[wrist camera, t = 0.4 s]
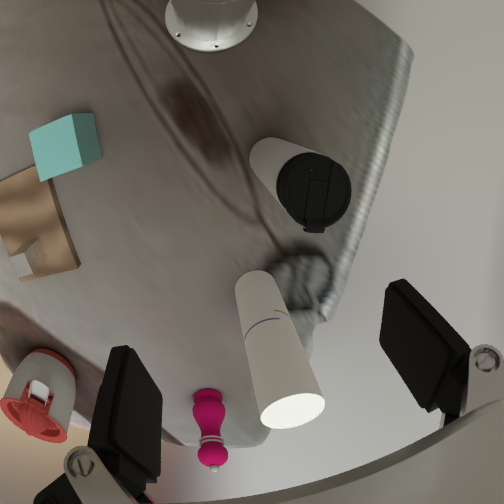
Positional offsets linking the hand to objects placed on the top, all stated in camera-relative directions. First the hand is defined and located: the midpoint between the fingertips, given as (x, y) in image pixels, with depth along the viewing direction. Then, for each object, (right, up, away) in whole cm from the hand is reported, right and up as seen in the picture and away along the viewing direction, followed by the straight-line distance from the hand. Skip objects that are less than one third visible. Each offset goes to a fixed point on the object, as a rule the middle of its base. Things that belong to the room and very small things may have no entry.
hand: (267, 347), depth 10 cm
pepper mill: (-11, -30, +52) cm, 61 cm away
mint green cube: (-26, +19, +25) cm, 41 cm away
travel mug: (+2, +17, +31) cm, 35 cm away
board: (-37, +8, +28) cm, 47 cm away
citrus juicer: (-45, -22, +42) cm, 66 cm away
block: (-36, +4, +29) cm, 47 cm away
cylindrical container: (0, -3, +40) cm, 41 cm away
